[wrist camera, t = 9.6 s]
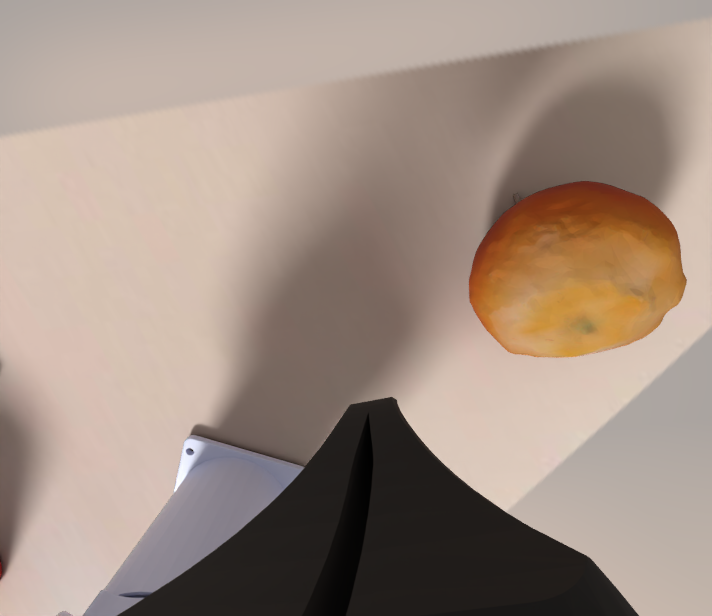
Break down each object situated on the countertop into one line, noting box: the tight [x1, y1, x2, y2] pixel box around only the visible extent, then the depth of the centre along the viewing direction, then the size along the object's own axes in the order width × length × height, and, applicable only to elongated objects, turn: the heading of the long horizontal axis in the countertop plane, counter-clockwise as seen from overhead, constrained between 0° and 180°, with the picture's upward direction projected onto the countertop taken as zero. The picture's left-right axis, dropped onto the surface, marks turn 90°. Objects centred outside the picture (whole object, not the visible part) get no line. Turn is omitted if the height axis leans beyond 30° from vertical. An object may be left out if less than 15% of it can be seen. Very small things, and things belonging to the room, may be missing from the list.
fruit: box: [469, 181, 687, 358], centre depth 16 cm, size 8×8×8 cm
